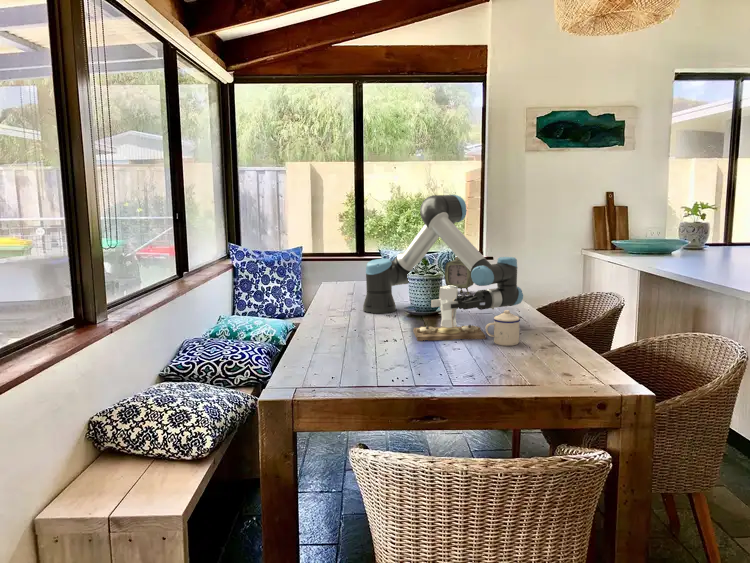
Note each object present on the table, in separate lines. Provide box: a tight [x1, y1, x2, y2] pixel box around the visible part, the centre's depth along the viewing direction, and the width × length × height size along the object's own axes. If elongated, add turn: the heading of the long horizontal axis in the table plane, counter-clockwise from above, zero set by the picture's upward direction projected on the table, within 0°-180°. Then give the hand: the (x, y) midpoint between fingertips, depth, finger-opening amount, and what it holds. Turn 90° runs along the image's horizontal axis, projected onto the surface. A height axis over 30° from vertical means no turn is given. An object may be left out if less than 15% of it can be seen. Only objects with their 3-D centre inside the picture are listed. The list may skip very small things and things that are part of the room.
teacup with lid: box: [484, 309, 521, 347], centre depth 197 cm, size 12×9×12 cm
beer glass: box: [438, 284, 459, 328], centre depth 209 cm, size 7×7×15 cm
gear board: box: [413, 324, 487, 342], centre depth 210 cm, size 25×14×4 cm, turn 92°
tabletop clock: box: [444, 256, 475, 296], centre depth 298 cm, size 14×9×25 cm, turn 62°
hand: (437, 305), depth 206 cm, fingers closed on beer glass, 7 cm apart
